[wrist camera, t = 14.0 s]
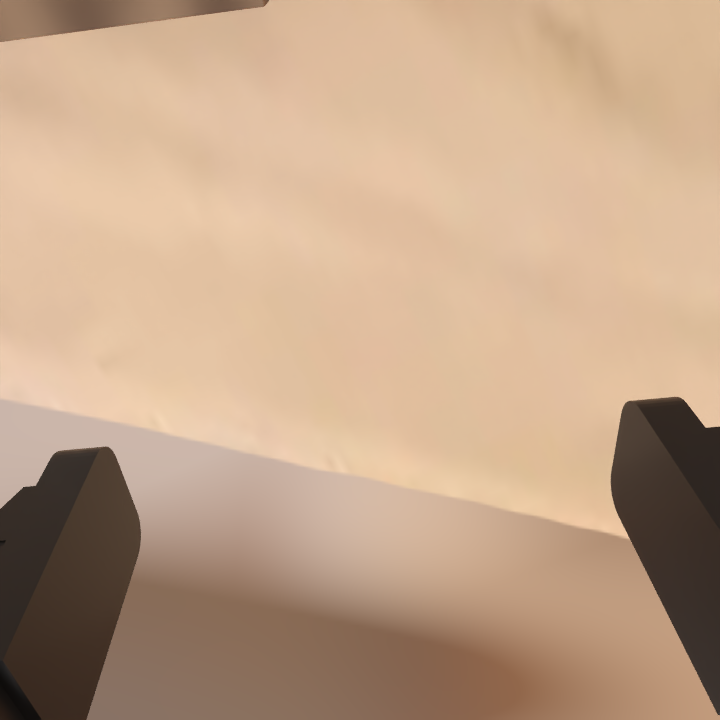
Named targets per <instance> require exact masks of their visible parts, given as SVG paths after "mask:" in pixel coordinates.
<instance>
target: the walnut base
mask: <svg viewBox="0 0 720 720" xmlns="http://www.w3.org/2000/svg"><path fill="white" fill-rule="evenodd" d="M268 1H269V0H0V42H4V41H11V40H19V39H26V38H34V37H41V36H48V35H56V34H63V33H71V32H78V31H86V30H93V29H101V28H108V27H115V26H123V25H130V24H138V23H145V22H153V21H160V20H167V19H175V18H182V17H190V16H197V15H205V14H212V13H220V12H227V11H234V10H242V9H249V8H257V7H264V6H265V5H266V4H267V2H268Z"/></svg>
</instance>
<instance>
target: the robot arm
mask: <svg viewBox="0 0 720 720" xmlns="http://www.w3.org/2000/svg"><path fill="white" fill-rule="evenodd" d="M611 491H612V497H613V501H614V505H615V508H616V511H617V513H618V516H619V518H620V520H621V522H622V524H623V526H624V528H625V530H626V532H627V534H628V536H629V538H630V540H631V542H632V544H633V546H634V548H635V550H636V552H637V554H638V556H639V557H640V560H641V562H642V564H643V566H644V568H645V570H646V571H647V574H648V576H649V578H650V580H651V582H652V584H653V586H654V588H655V590H656V592H657V594H658V596H659V598H660V599H661V602H662V604H663V606H664V608H665V610H666V612H667V614H668V616H669V618H670V620H671V622H672V624H673V626H674V628H675V630H676V632H677V634H678V636H679V638H680V640H681V642H682V644H683V646H684V648H685V650H686V652H687V654H688V655H689V658H690V660H691V662H692V664H693V666H694V668H695V670H696V671H697V674H698V676H699V678H700V680H701V682H702V684H703V686H704V688H705V690H706V692H707V694H708V696H709V698H710V700H711V702H712V704H713V706H714V708H715V710H716V712H717V714H718V715H720V427H711V428H705V427H704V425H703V424H702V423H701V421H700V420H699V419H698V417H697V416H696V415H695V414H694V412H693V411H692V410H691V408H690V407H689V406H688V404H687V403H686V402H685V401H684V400H683V399H681V398H679V397H669V398H658V399H647V400H636V401H628V402H627V403H625V405H624V407H623V409H622V413H621V419H620V425H619V431H618V436H617V442H616V448H615V454H614V460H613V466H612V472H611ZM140 540H141V529H140V521H139V517H138V513H137V510H136V508H135V505H134V503H133V500H132V497H131V495H130V492H129V490H128V487H127V485H126V482H125V479H124V477H123V474H122V471H121V469H120V466H119V464H118V461H117V459H116V456H115V454H114V453H113V451H112V450H111V449H110V448H109V447H97V448H86V449H74V450H64V451H58V452H56V453H55V454H54V455H53V456H52V458H51V459H50V461H49V463H48V465H47V466H46V468H45V470H44V472H43V474H42V476H41V477H40V479H39V481H38V483H37V485H36V486H31V487H23V488H22V490H20V491H19V492H18V493H17V494H16V495H15V496H14V497H13V498H12V499H11V500H9V501H8V502H7V503H6V504H5V505H4V506H3V507H2V508H1V509H0V720H86V719H87V716H88V713H89V710H90V706H91V703H92V700H93V697H94V694H95V691H96V687H97V684H98V681H99V678H100V675H101V671H102V668H103V665H104V662H105V659H106V656H107V652H108V649H109V646H110V643H111V640H112V636H113V633H114V630H115V627H116V624H117V621H118V618H119V614H120V611H121V608H122V604H123V602H124V599H125V595H126V592H127V589H128V586H129V583H130V580H131V576H132V573H133V570H134V566H135V564H136V560H137V557H138V554H139V549H140Z"/></svg>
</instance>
